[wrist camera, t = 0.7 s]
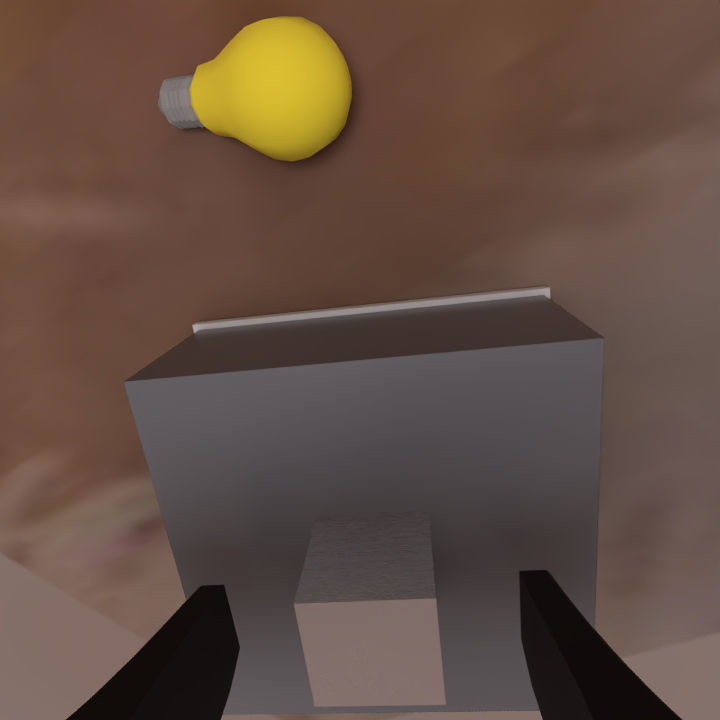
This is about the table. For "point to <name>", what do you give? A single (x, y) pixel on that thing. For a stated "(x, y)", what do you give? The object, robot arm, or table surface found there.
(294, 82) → the light bulb
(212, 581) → the cover
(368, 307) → the mat
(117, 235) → the table surface
